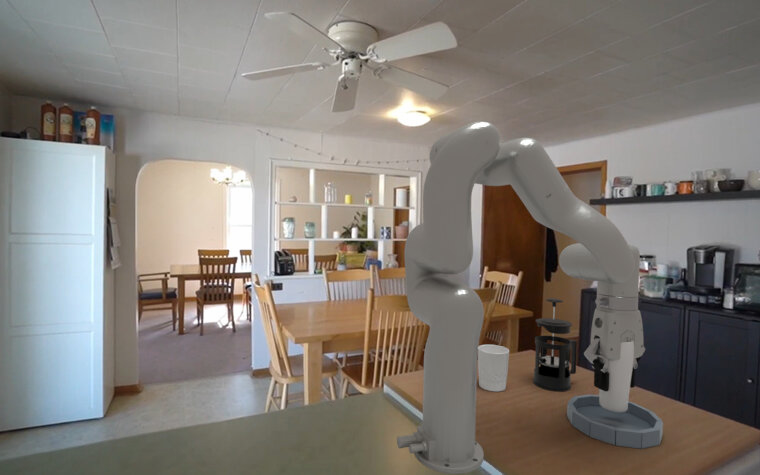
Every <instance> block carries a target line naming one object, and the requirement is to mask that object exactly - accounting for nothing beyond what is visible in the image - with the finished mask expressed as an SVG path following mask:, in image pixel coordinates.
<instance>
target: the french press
mask: <svg viewBox="0 0 760 475" xmlns="http://www.w3.org/2000/svg"><path fill="white" fill-rule="evenodd" d="M545 301H546V302H550V303H552V307H553V312H552V314H553V315H552V318H551V317H550V318H548V317H546V318H545V317H543V318H537V319H535V323H537V326H536V327H537V328H541V327H543V328H544V329H545V330H546V331H547V332H548V333H551V334H552V335H537V336H535V338H534V343H535V359H534V360H535V361H534V362H535V366H534V370H533V379H532V382H533V384H534V385H535V386H537V388H540V389H544V390H547V391H551V392H567V391H570V390H571V388H572V385H571V375H575V374H577V347H578V345H577V344H578V342H577V341H576V340H575V339H567V338H565V337H561V336H555V334H556V335H565V334H570V333H571V327H573V323H572V322H571V321H568V320H564V319H558V318H555V314H556V307H557V303H563V302H564V301H563V300H562V299H559V298H547V299H545ZM548 341H551V343H548ZM555 342H558V343H562V344H554V343H555ZM548 350H551V355H548V353H547V352H548ZM554 351H559V352H558V356H554ZM570 353H571V354H570ZM570 355H571V360H570ZM570 362H571V363H570Z"/></svg>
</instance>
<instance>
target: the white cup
mask: <svg viewBox="0 0 760 475" xmlns="http://www.w3.org/2000/svg"><path fill="white" fill-rule="evenodd" d="M509 357H510V350H509V348H507V347H505V346H501V345H498V344H497V345H496V344H481V345H478V354H477V373H478V385H479V387H480V388H481V389H483V390H485V391H489V392H494V393H495V392H503V391H505V390H506V388H507V379H508V370H509V360H510V359H509Z"/></svg>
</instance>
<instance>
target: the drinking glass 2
mask: <svg viewBox="0 0 760 475" xmlns="http://www.w3.org/2000/svg"><path fill="white" fill-rule="evenodd" d="M599 354H600V355H602V352H601V349H600V350H599ZM603 360H604V359H603V358H600V362H601V363H603ZM633 362H634V342H633V341H631V342H622V343H621V352H620V359H619V360H615V361H612V360H610V361H609V366H608V369H607V371H606V372H609V390H608V391H606V392H605V391H603V390H601V389H599V388H598V395H599V404H600V405H601V406H602V407H603V408H604V409H607V410H609V411H613V412H625V411H627V409H628V401H629V396H630V391H631V387H630V384H631V376H632V369H633Z"/></svg>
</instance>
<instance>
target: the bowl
mask: <svg viewBox="0 0 760 475" xmlns="http://www.w3.org/2000/svg"><path fill="white" fill-rule="evenodd" d="M566 404H567V406H566V408H567V409H566V417H567V419H568V421H569V422H570V424H571V426H572V427H574V429H577V430H578V431H580V433H583V434H584V435H587V437H590V438H593V439H595V440H598V441H601V442H604V443H607V444H610V445H612V446H616V447H625V448H633V449H646V448H653V447H656V446H660V444H661V441H662V439H663V436H664V435H663V432H664V431H663V430H664V421H663V419H661V418H660V417H659V416H658V415H657V414H656V412H654V411H652V410H650V409H649V408H646V407H644V406H641V405H639V404H638V403H635V402H633V401H629V400H628V409H627V411H625V412H613V411H609V410H607V409H604V408H603V407H602V406H601V405H600V404H599V394H583V395H574V396H573V397H572V398H570V399H569V400H568V402H567V403H566Z"/></svg>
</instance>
